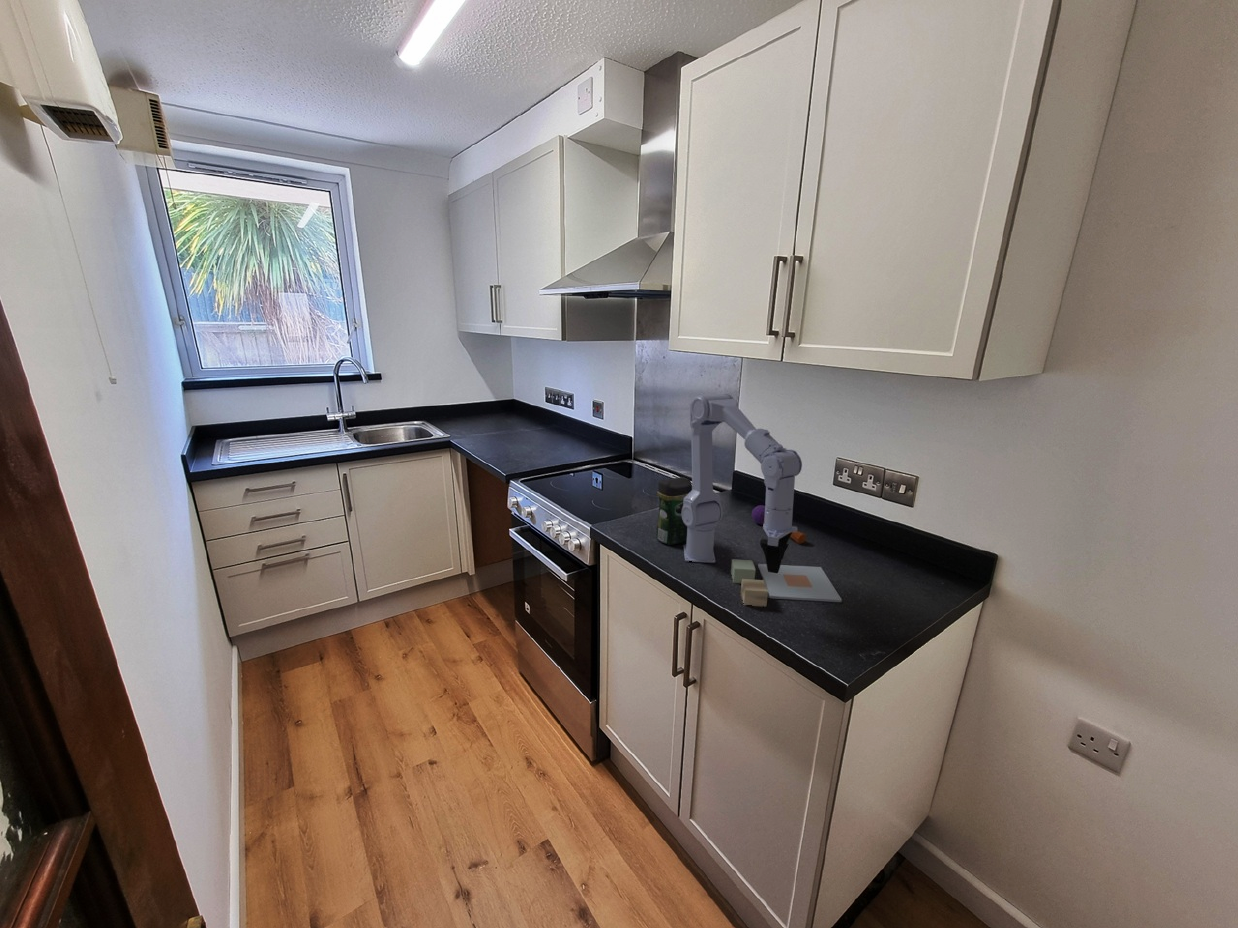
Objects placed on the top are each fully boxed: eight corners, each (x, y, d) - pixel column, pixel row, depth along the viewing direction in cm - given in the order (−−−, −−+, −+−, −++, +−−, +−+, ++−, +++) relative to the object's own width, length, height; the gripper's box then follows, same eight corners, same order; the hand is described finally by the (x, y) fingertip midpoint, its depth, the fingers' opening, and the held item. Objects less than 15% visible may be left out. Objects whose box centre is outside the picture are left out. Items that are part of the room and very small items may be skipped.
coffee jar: (677, 531, 153) (680, 472, 148) (694, 541, 147) (698, 480, 142) (651, 537, 149) (653, 477, 143) (666, 548, 142) (669, 485, 137)
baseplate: (757, 565, 133) (758, 563, 133) (820, 569, 132) (820, 567, 131) (770, 598, 117) (770, 595, 117) (841, 602, 116) (841, 599, 116)
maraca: (794, 534, 144) (747, 505, 160) (794, 551, 146) (747, 522, 163) (810, 527, 146) (762, 500, 162) (809, 544, 148) (762, 516, 165)
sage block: (730, 573, 129) (731, 559, 128) (750, 574, 129) (752, 560, 127) (733, 583, 124) (734, 568, 123) (754, 584, 124) (755, 569, 123)
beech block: (740, 594, 119) (741, 578, 118) (762, 595, 119) (763, 580, 118) (743, 605, 114) (745, 589, 113) (766, 607, 114) (768, 591, 113)
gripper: (795, 518, 101) (790, 581, 104) (801, 499, 114) (797, 555, 117) (758, 514, 104) (755, 576, 107) (769, 496, 117) (766, 551, 120)
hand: (775, 565), depth 112 cm, fingers open, 7 cm apart
